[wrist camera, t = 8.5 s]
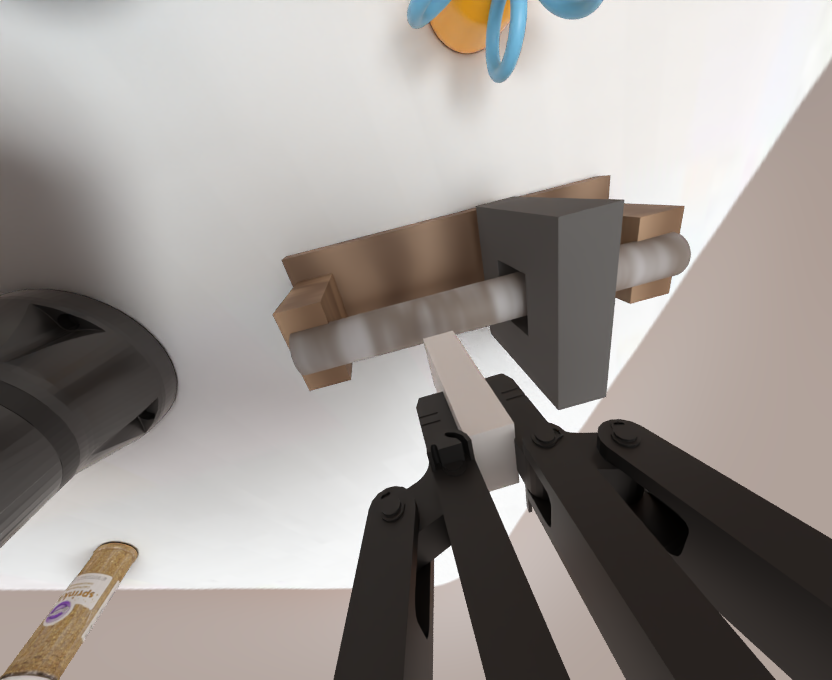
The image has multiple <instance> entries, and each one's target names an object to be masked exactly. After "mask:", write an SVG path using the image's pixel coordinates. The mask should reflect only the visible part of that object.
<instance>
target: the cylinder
mask: <svg viewBox="0 0 832 680" xmlns="http://www.w3.org/2000/svg"><path fill="white" fill-rule="evenodd" d="M539 1H540V2H541V4H542V5H543V6H544V7H545V8H546V9H547V10H548V11H550V12H551V13H553V14H554V15H556V16H558V17H561V18H565V19H580V18H583V17H586V16H588V15H590V14H591V13H593V12H594V11H595V10H596V9H597V8H598V7H599V6H600V4H601V3H602V1H603V0H539ZM407 19H408V22H409V24H410V26H411V27H413V28H415V29H418V28H421V27H423V26H425V25H426V24H428V23H429V22H430V23H431V25H432V28H433V30H434V31H435V33H436V34H437V36H438V37H439V39H440V40H441V41H442V42H443V43H444V44H445V45H446V46H448V47H449V48H451V49H452V50H454V51H457V52H460V53H474V52H478V51H480V50H482V49H484V48H486V63H487V69H488V73H489V75H490V77H491V79H492V80H493V81H494V82H496V83H501V82H504V81H505V80H506V79H507V78H508V77H509V76H510V75H511V73H512V72H513V70H514V68H515V65H516V63H517V60H518V58H519V55H520V51H521V48H522V43H523V39H524V33H525V27H526V19H527V0H411V1H410V4H409V7H408V11H407ZM509 22H510V27H509V35H508V41H507V46H506V50H505V53H504V57H503V59H502V62H500V56H499V36H500V33H501V32H502V31H503V29H504V28H505V27H506V26H507V25H508V23H509Z"/></svg>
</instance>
